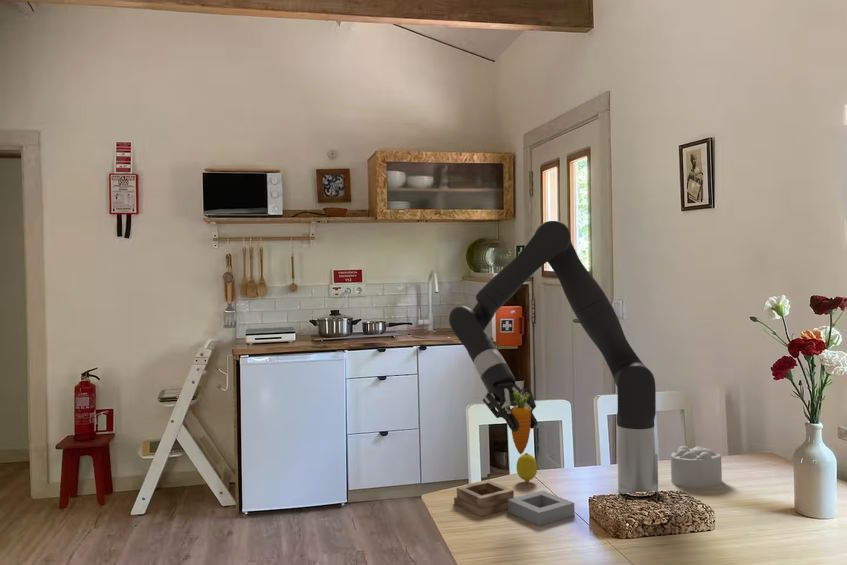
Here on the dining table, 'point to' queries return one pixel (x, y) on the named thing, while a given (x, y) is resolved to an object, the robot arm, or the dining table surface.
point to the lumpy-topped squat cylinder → (695, 467)
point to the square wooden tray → (483, 497)
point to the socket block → (549, 511)
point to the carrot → (521, 422)
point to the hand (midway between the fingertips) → (525, 427)
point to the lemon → (526, 467)
